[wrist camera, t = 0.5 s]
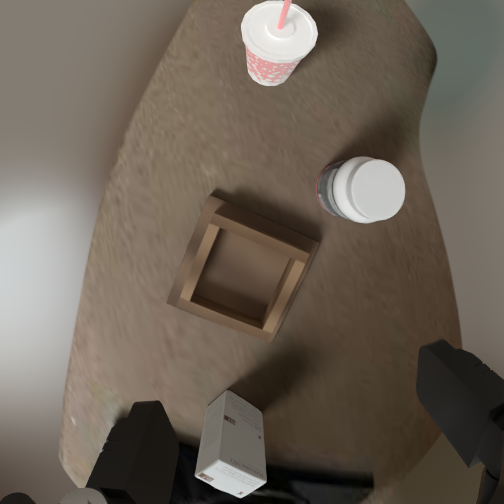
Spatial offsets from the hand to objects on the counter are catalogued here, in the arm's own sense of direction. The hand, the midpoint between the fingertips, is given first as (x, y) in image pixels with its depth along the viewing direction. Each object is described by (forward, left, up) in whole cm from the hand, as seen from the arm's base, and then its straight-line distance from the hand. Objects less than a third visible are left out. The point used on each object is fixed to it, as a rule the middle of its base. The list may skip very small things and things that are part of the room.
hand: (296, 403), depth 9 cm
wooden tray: (+3, 0, -25) cm, 25 cm away
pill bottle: (-9, +6, -25) cm, 27 cm away
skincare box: (+20, +6, -25) cm, 32 cm away
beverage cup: (-18, -6, -25) cm, 32 cm away
